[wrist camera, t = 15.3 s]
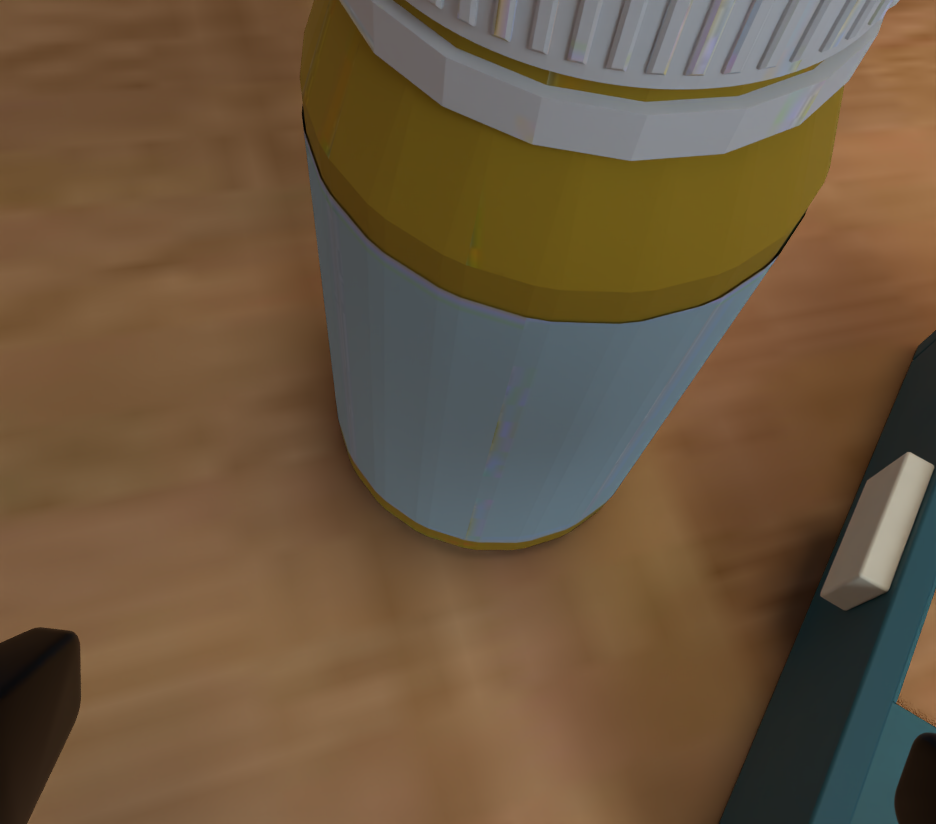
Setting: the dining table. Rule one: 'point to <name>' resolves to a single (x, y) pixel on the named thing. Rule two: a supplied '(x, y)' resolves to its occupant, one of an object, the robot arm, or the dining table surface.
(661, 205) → the bottle
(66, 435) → the dining table surface
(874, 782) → the teal square tray
